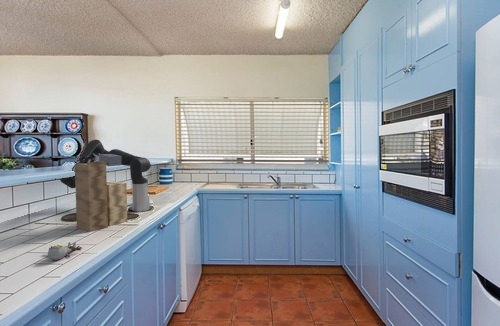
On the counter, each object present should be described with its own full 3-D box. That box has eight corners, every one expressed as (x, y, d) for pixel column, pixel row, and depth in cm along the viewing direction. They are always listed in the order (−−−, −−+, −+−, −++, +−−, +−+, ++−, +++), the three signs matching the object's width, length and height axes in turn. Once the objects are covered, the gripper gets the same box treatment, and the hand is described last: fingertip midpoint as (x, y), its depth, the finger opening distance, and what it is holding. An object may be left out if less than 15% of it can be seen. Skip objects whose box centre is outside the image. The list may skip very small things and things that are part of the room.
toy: (88, 238, 123) (70, 246, 108) (87, 252, 122) (70, 261, 108) (56, 239, 121) (34, 247, 107) (56, 252, 121) (33, 262, 106)
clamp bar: (98, 159, 173) (98, 151, 172) (121, 165, 161) (121, 156, 161) (86, 160, 167) (86, 151, 166) (108, 166, 156) (109, 156, 155)
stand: (94, 224, 158) (92, 160, 156) (107, 227, 152) (106, 161, 150) (76, 228, 151) (74, 161, 149) (90, 231, 144) (88, 162, 142)
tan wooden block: (114, 218, 170) (113, 181, 169) (127, 221, 163) (126, 183, 162) (96, 222, 162) (95, 183, 160) (110, 225, 155) (109, 185, 154)
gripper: (95, 173, 181) (110, 159, 172) (71, 175, 169) (86, 161, 161) (92, 162, 183) (106, 148, 174) (68, 163, 171) (82, 148, 162)
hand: (96, 154), depth 167 cm, fingers closed on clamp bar, 2 cm apart
